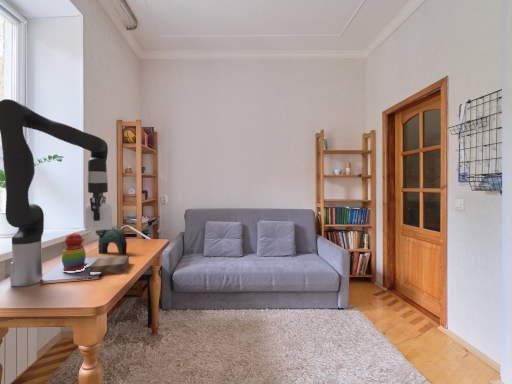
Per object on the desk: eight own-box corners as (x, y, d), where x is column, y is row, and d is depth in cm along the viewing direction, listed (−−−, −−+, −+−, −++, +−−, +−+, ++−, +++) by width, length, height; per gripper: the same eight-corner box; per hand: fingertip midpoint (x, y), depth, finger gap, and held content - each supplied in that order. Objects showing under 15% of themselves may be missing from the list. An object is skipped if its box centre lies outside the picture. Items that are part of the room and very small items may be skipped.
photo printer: (112, 228, 118) (111, 201, 118) (112, 229, 114) (111, 202, 114) (85, 230, 112) (84, 202, 112) (85, 232, 109) (84, 203, 108)
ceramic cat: (94, 253, 151) (93, 220, 151) (104, 251, 158) (103, 219, 157) (121, 256, 146) (120, 221, 145) (129, 253, 152) (129, 220, 151)
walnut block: (89, 275, 114) (88, 266, 114) (98, 266, 127) (98, 258, 127) (123, 272, 118) (123, 263, 118) (128, 263, 132) (128, 255, 132)
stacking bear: (82, 272, 118) (81, 235, 117) (57, 275, 115) (56, 236, 115) (91, 265, 128) (90, 231, 128) (68, 267, 126) (67, 232, 125)
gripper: (93, 182, 118) (94, 218, 119) (82, 181, 105) (83, 222, 105) (111, 182, 121) (112, 217, 121) (102, 181, 107) (103, 221, 107)
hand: (98, 219), depth 113 cm, fingers closed on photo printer, 5 cm apart
